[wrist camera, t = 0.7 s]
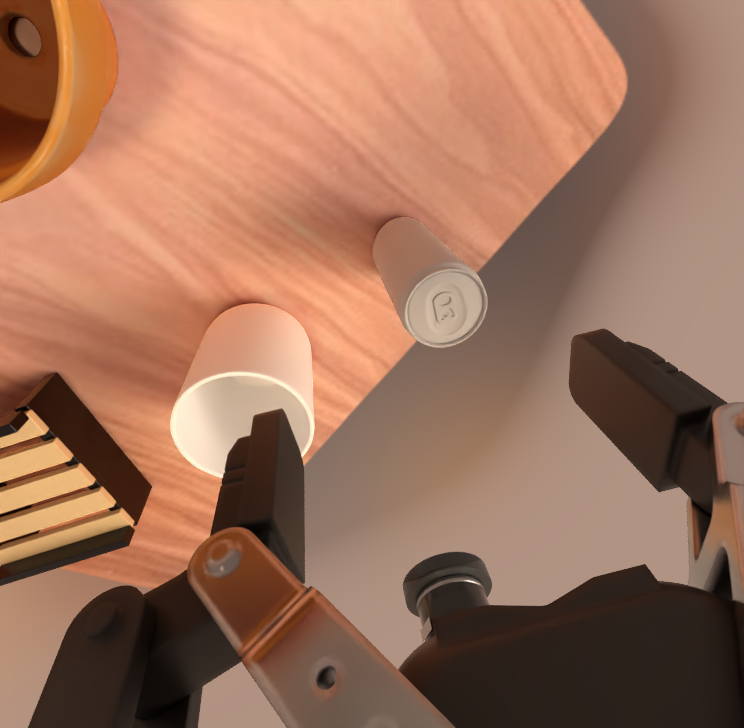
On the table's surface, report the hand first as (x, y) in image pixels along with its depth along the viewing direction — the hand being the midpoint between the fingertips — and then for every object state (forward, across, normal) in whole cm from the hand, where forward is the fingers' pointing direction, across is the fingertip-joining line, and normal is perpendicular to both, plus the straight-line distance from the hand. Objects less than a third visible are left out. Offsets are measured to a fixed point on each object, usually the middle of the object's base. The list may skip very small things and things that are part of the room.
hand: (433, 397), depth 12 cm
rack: (+23, -31, -14) cm, 41 cm away
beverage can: (+23, +3, -3) cm, 24 cm away
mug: (+23, -11, -10) cm, 27 cm away
